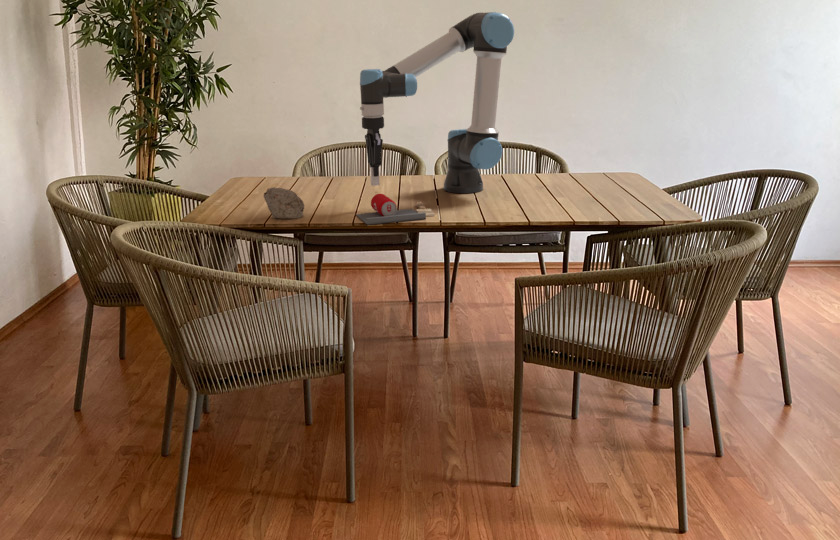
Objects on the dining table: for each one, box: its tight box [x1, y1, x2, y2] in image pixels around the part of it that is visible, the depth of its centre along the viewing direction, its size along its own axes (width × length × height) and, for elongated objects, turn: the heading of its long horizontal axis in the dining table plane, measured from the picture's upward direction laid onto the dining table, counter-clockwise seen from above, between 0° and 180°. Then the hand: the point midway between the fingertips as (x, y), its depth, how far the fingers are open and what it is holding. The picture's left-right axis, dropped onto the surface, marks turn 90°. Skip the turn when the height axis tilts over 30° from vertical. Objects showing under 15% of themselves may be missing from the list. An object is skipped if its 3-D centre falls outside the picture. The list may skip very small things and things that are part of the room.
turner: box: [415, 201, 435, 218], centre depth 274 cm, size 17×5×1 cm, turn 9°
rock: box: [263, 187, 305, 219], centre depth 268 cm, size 14×10×8 cm
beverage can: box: [370, 193, 398, 217], centre depth 267 cm, size 6×6×12 cm
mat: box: [355, 208, 427, 226], centre depth 266 cm, size 20×14×2 cm
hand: (375, 185), depth 276 cm, fingers closed
